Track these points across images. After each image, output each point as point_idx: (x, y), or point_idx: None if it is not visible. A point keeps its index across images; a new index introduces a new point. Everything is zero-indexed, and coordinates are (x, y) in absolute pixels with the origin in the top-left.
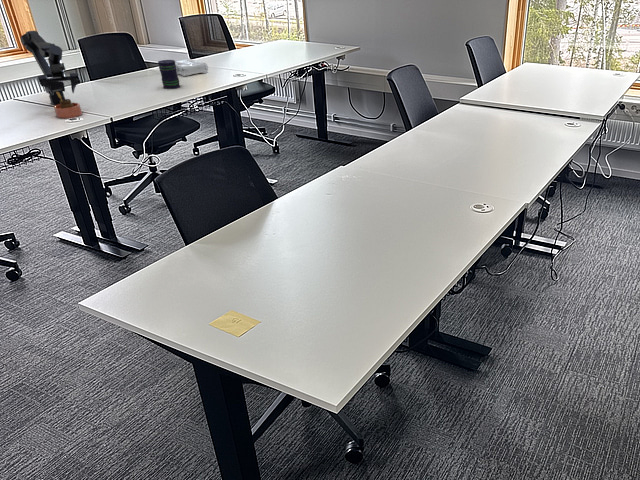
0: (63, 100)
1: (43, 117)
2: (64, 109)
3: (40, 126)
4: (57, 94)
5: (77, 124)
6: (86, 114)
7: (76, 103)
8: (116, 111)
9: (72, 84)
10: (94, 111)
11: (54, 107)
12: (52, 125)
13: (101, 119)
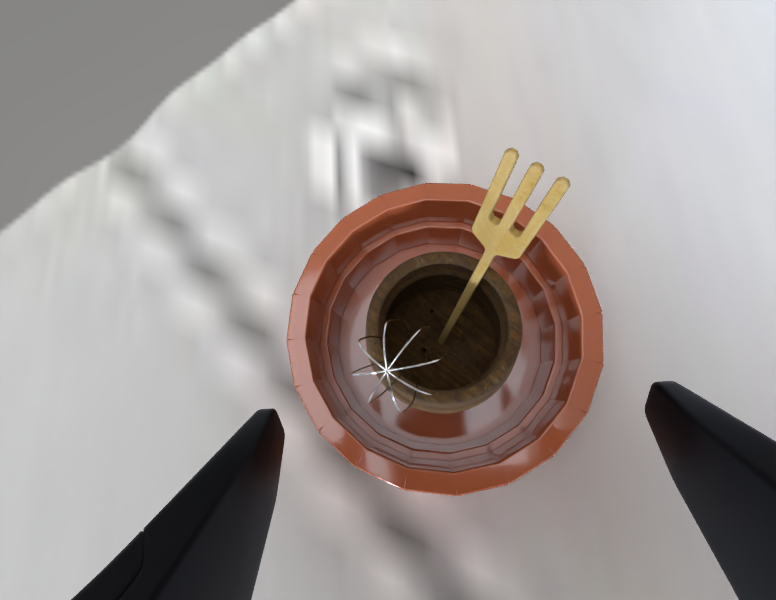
0: (475, 391)
1: (701, 355)
2: (452, 189)
3: (645, 42)
4: (539, 217)
5: (352, 21)
6: (285, 315)
7: (323, 399)
8: (36, 325)
9: (129, 577)
10: (211, 408)
11: (583, 274)
12: (546, 44)
13: (178, 106)
